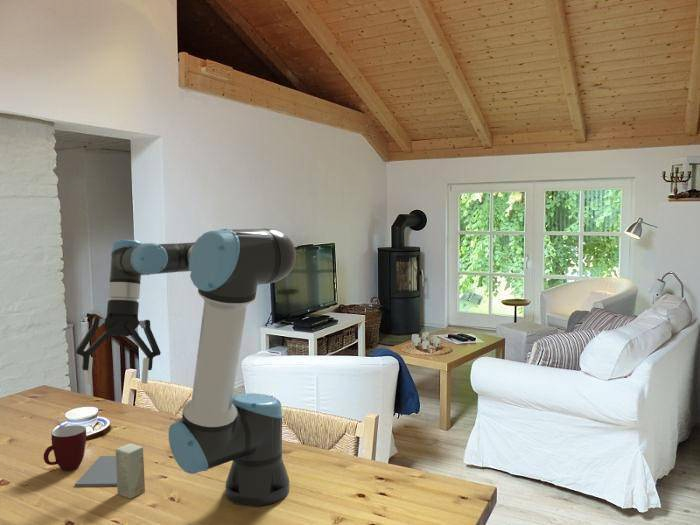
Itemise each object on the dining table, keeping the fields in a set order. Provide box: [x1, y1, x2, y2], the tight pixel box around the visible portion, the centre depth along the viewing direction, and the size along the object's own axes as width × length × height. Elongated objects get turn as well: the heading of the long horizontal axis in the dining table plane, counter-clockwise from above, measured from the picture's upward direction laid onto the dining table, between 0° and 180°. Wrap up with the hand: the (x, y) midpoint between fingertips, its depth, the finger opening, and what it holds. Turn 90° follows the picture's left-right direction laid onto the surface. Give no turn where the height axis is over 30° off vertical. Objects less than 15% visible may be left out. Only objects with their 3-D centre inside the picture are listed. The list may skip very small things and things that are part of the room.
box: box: [115, 442, 146, 499], centre depth 138 cm, size 5×4×11 cm
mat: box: [74, 455, 117, 487], centre depth 149 cm, size 11×16×1 cm
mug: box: [43, 424, 87, 472], centre depth 149 cm, size 10×8×10 cm
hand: (116, 383), depth 147 cm, fingers open, 13 cm apart
